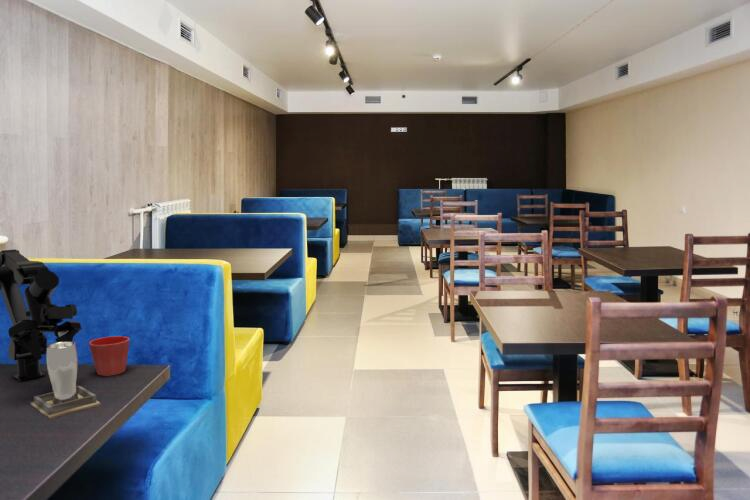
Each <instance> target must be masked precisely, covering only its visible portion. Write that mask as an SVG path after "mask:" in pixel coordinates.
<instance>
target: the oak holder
mask: <svg viewBox="0 0 750 500" xmlns="http://www.w3.org/2000/svg"><path fill="white" fill-rule="evenodd" d="M76 391H77V395H78V398H79V399H76V400H72V401H68V402H64V403H60V404H57V405H52V398H53V391H52V392H48V393H43V394H40V395H35V396H33V401H32V402H30V406H32V407H33V408H34V409H36V410H37V411H38V412H40V413H41V414H42V415H44V416H45V417H46V418H47V419H49V420H50V419H55V418H60V417H62V416H65V415H69V414H73V413H77V412H80V411H84V410H87V409H91V408H95V407H98V406H101V404H102V403H101V402H100V401H98V400H97V394H95V393H93V392H91V391H89V390H88V389H86V388H84V387H83V386H82V385H76Z"/></svg>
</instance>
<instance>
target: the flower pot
mask: <svg viewBox="0 0 750 500" xmlns="http://www.w3.org/2000/svg"><path fill="white" fill-rule="evenodd" d="M88 346H89V350H90V353H91V357H92V361H93V364H94V368H95V370H96V373H97V375H98V376H104V377H109V376H117V375H120V374H123V373H124V372H125V371H126V368H127V364H128V363H127V362H128V355H129V348H130V337H128V336H122V335H121V336H120V335H113V336H105V337H100V338H95V339H92V340H90V341H89V342H88Z"/></svg>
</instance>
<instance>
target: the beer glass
mask: <svg viewBox="0 0 750 500" xmlns="http://www.w3.org/2000/svg"><path fill="white" fill-rule="evenodd" d="M45 355H46V357H45V358H46V369H47V373H48V377H49V381H50V383H51V387H52V392H53V398H52V405H57V404H60V403H64V402H68V401H72V400H76V399H79V398H78V395H77V391H76V386H77V377H78V367H79V366H78V365H79V360H78V351H77V345H76V342H75V341H72V342H70V341H66V342H57V341H56V342H54V343H49V344H47V346H46V354H45Z"/></svg>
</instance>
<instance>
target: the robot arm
mask: <svg viewBox="0 0 750 500" xmlns="http://www.w3.org/2000/svg"><path fill="white" fill-rule="evenodd" d="M59 283H60V278H59V276H58V275H57V274H56V273H55V272H54V271H51V270H50V269H49V268H48V266H47V265H45V263H44V262H43V261H39V260H37V261H36V260H30V259H28V258H27V257H26V256H24V255H23V254H21V253H20V250H18V249H6V250H5V249H4V250H1V251H0V292H1V295H2V297H3V298H2V299H3V301H4V303H5V307H6V309H7V313H8V315H9V318H10V320H11V324H12V325H11V326H9V328H8V337H9V338H10V343H9V346H8V349H7V354H8V358H9V359H11V360H12V361H16V369H17V370H16V371H17V374H14V375H13V377H14V378H15V379H16V380H18V381H19V382H23V381H29V380H32V379H37V378H41V377H45V376H46V374H45V373H44V372H42V371H41V366H40V365H41V364H40V360H42V359H43V357H42V355H46V346H47V345H48V338H47V336H46V335H45V334H44V333H53V334H54V336H55V337H56V338H55V341H56V343H57V342H66V341H70V342H73V340H74V337H75V335H77V334H78V333H79V332H80V331H82V329H83V328H82V325H81V322H80V321H77V320H73V319H74V317H76V316H77V314H78V308H77V306H76V304H72V303H71V304H65V306H58V305H56V304H53V302H52V299H51V296H52V294H53V293H54V291H55V289H56V288H57V287H58V285H59ZM24 285H25V286H26V285H29V286H27V287H26V288H25V290H24V291H23V294H24V295H22V292H21V290H20V287H19V286H24ZM23 296H24V297H23ZM24 299H25V300H24ZM25 302H26V304H27V305H26V304H25ZM26 306H27V307H26ZM65 319H66V321H65V322H63V320H65ZM68 319H69V320H68ZM62 322H63V323H62Z"/></svg>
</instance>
